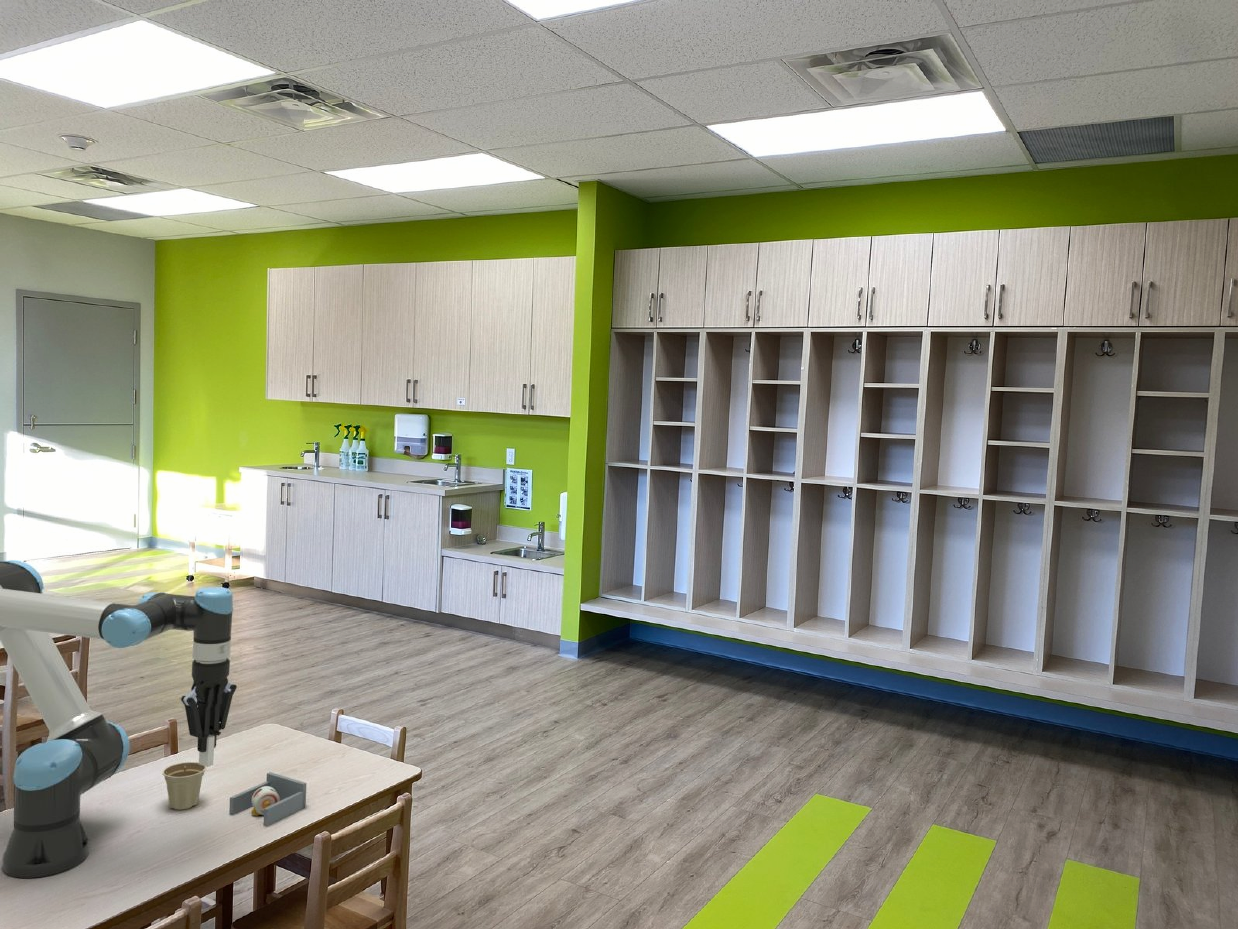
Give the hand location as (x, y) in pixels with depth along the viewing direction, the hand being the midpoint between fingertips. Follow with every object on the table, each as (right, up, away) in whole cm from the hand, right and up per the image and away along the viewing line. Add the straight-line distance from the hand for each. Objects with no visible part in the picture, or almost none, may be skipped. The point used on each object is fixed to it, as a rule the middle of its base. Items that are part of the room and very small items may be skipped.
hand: (205, 764), depth 198 cm
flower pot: (-13, -16, +17) cm, 27 cm away
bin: (+7, -17, +17) cm, 25 cm away
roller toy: (+7, -17, +16) cm, 24 cm away
